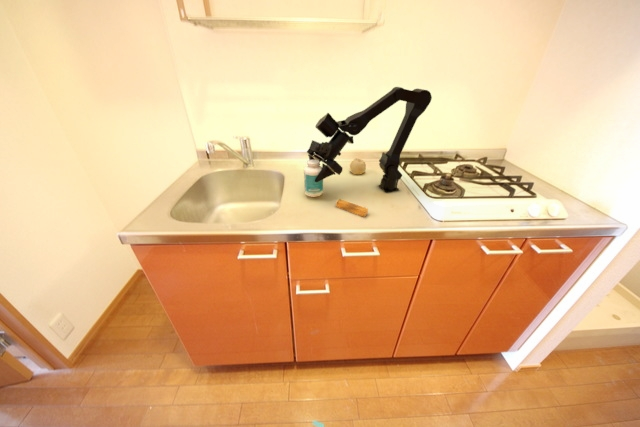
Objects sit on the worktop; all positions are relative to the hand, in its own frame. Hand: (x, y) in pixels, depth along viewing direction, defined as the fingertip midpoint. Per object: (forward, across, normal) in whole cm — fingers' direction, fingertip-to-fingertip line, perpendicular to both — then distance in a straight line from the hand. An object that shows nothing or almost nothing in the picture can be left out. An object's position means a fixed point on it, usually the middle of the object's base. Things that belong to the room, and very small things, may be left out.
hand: (310, 178), depth 89 cm
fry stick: (0, +16, +12) cm, 20 cm away
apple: (-17, -11, +29) cm, 35 cm away
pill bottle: (+4, 0, +6) cm, 7 cm away
